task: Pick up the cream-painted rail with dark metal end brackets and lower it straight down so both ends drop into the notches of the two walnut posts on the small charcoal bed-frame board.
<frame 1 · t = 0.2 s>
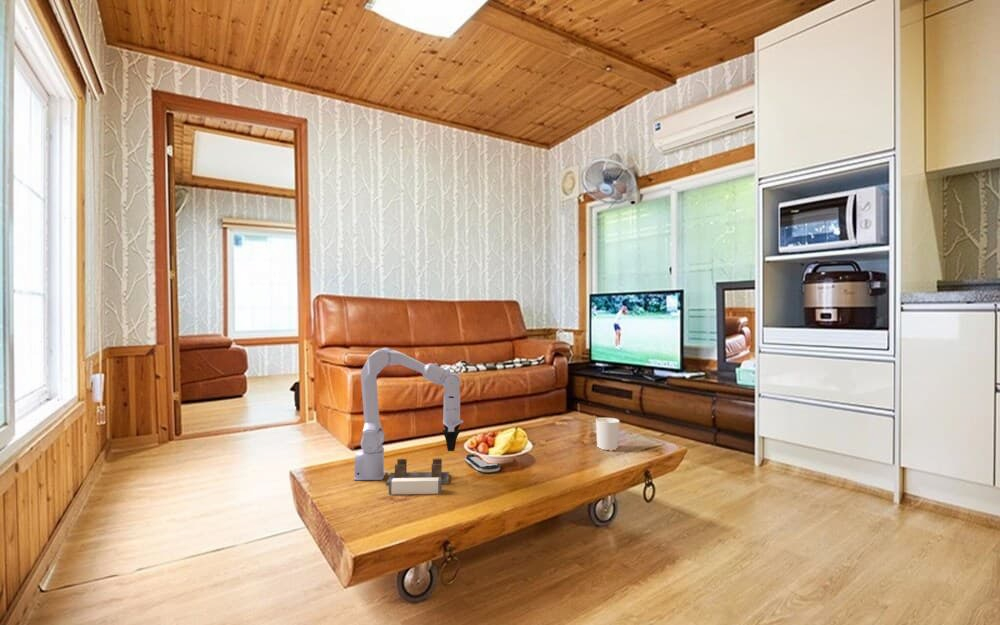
hand: (451, 447, 163), 10 cm above the table, tool pointing down, fingers open, 7 cm apart
rail: (415, 492, 148), on the table
gaming console: (482, 466, 175), on the table
white cylinder: (607, 449, 198), on the table
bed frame: (418, 479, 159), on the table
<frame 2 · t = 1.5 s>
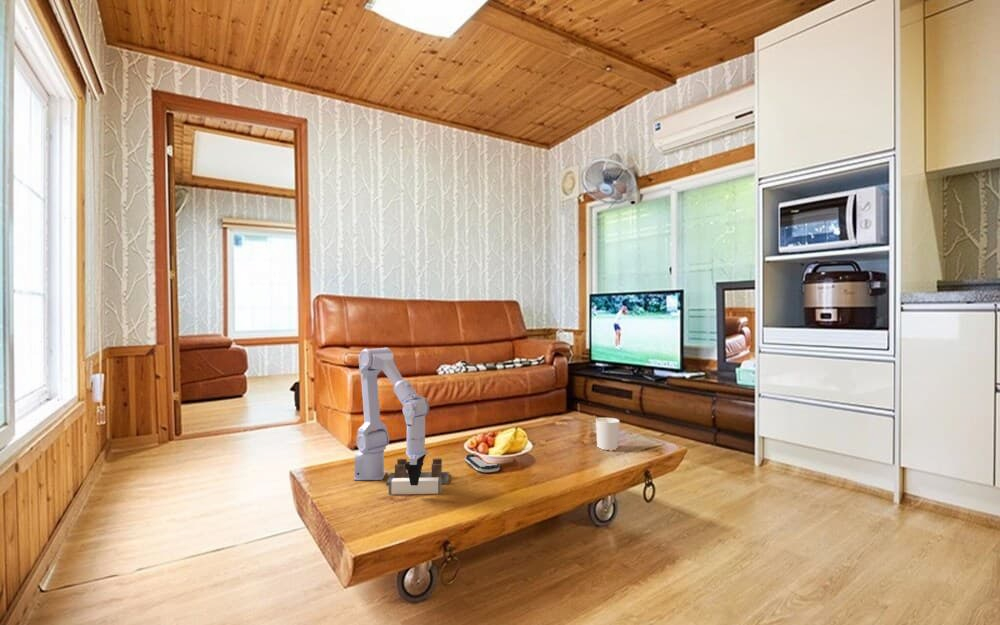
hand: (415, 480, 148), 4 cm above the table, tool pointing down, fingers open, 7 cm apart
nothing on the table moved.
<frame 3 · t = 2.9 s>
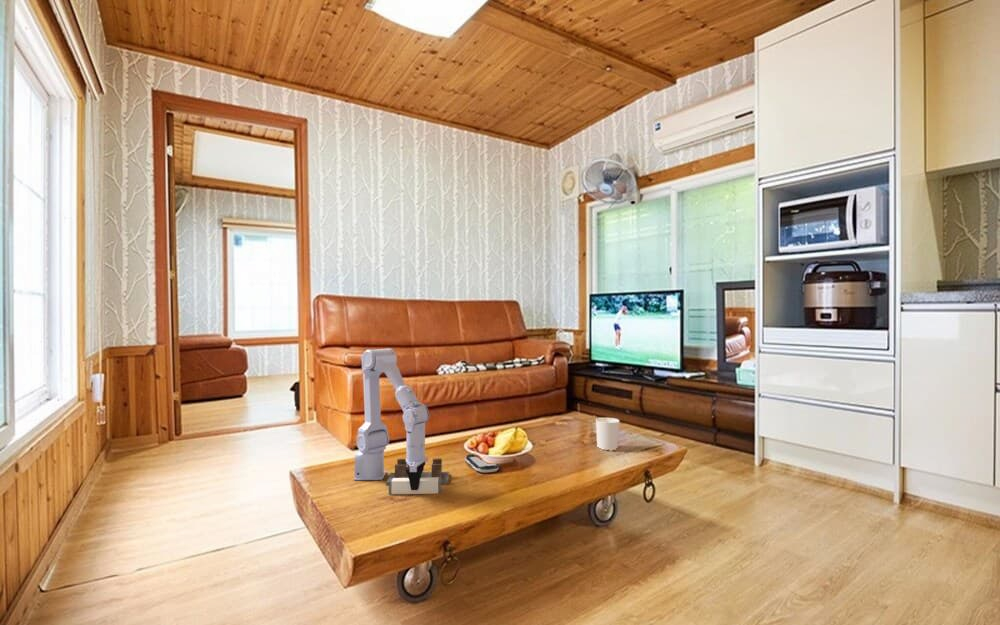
hand: (415, 487, 148), 1 cm above the table, tool pointing down, fingers closed on rail, 3 cm apart
rail: (415, 492, 148), on the table, touching gripper
everything else where it was.
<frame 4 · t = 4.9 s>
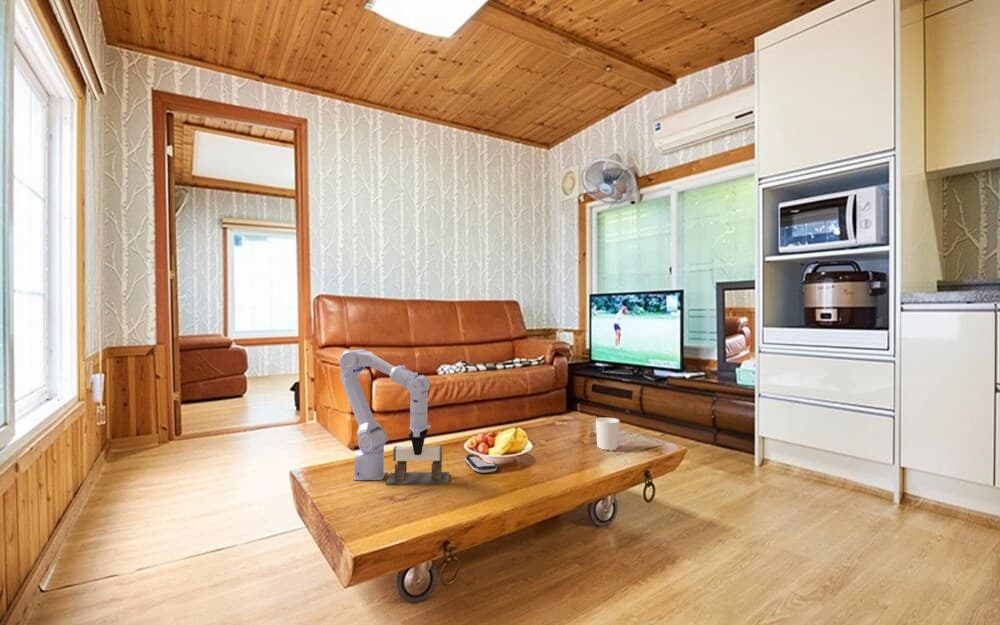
hand: (418, 453, 158), 9 cm above the table, tool pointing down, fingers closed on rail, 3 cm apart
rail: (418, 459, 158), point 7 cm above the table, touching gripper
everything else where it was.
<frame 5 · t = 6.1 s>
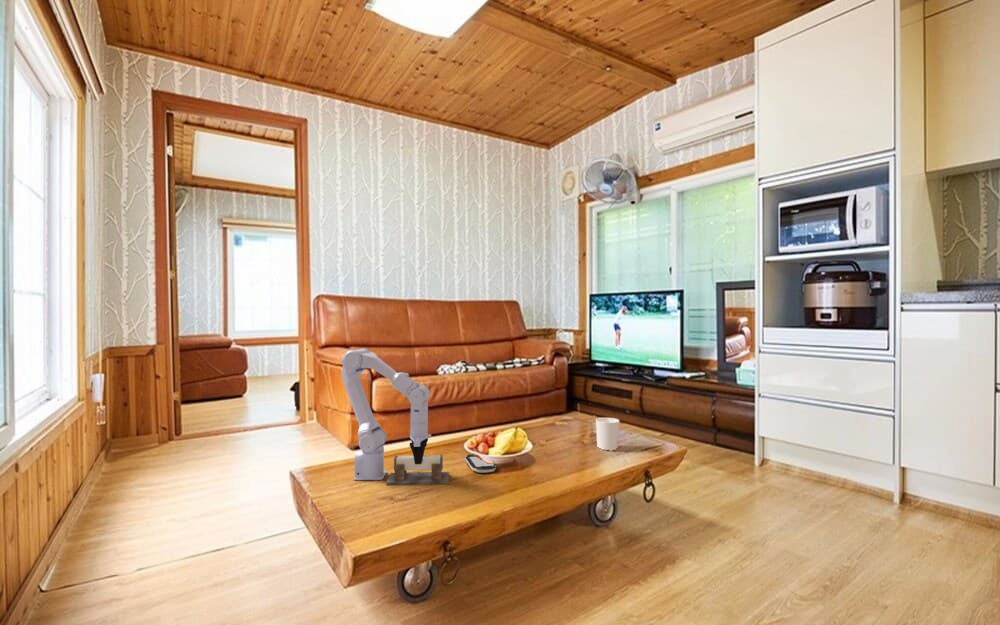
hand: (418, 462, 159), 6 cm above the table, tool pointing down, fingers closed on rail, 3 cm apart
rail: (418, 468, 159), point 4 cm above the table, touching gripper
everything else where it was.
when the fingers open (6 cm above the table, at t = 6.9 s): rail stays where it is, resting on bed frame.
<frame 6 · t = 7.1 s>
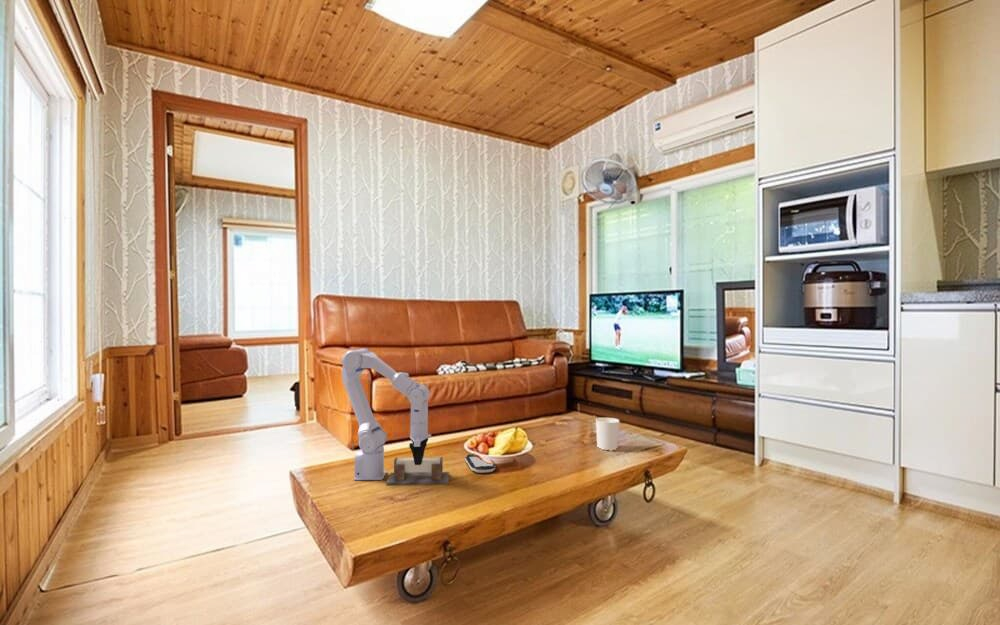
hand: (418, 462, 159), 6 cm above the table, tool pointing down, fingers open, 4 cm apart
rail: (418, 470, 159), point 3 cm above the table, touching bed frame
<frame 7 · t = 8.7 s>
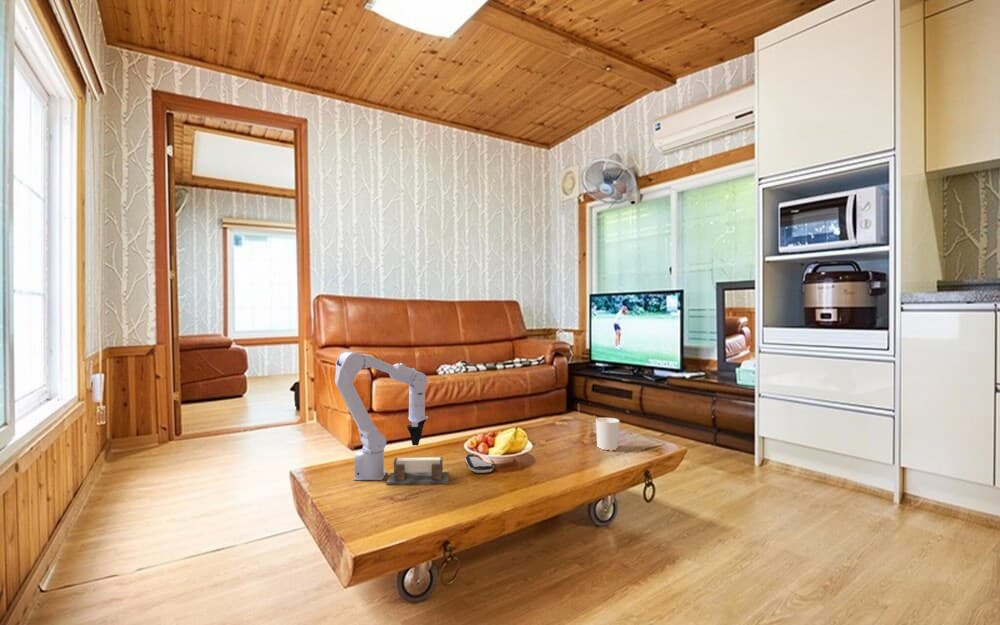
hand: (416, 442, 171), 9 cm above the table, tool pointing down, fingers open, 7 cm apart
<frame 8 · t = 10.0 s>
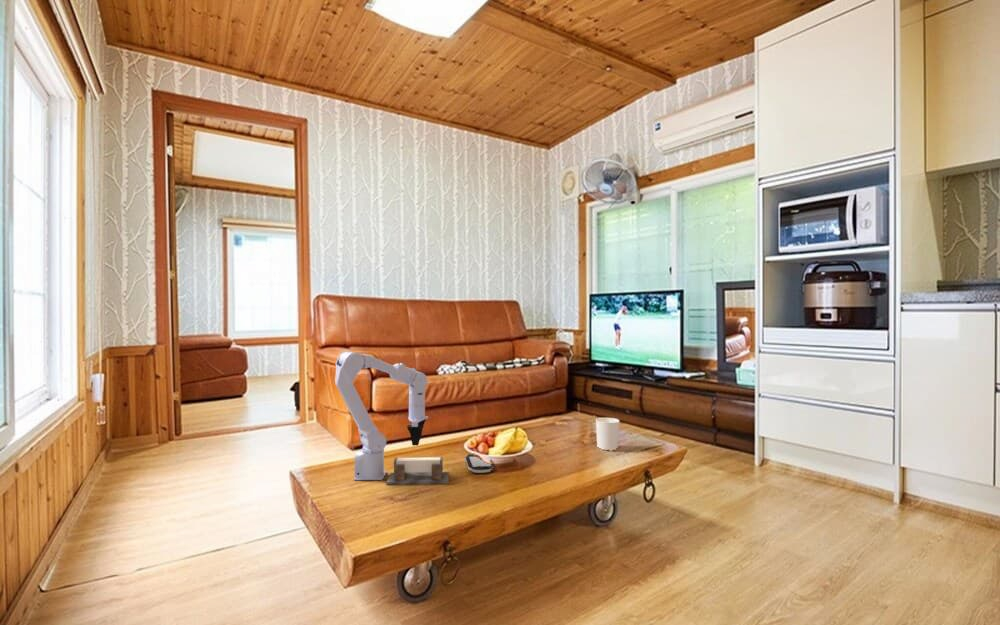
hand: (416, 442, 171), 9 cm above the table, tool pointing down, fingers open, 7 cm apart
at the end: rail 0.1 cm off-centre on the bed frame, point 3.0 cm above the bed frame's base; rail tilted 0°; the gripper is holding nothing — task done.
